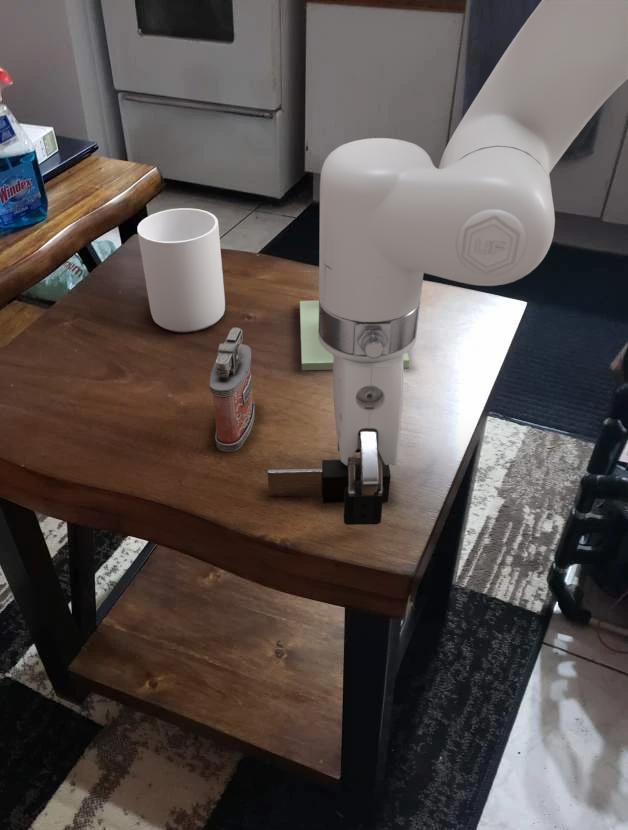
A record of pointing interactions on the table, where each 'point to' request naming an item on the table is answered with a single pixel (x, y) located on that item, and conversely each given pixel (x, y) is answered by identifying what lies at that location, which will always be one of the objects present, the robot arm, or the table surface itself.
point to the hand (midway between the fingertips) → (357, 484)
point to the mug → (183, 268)
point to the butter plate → (317, 340)
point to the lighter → (232, 392)
